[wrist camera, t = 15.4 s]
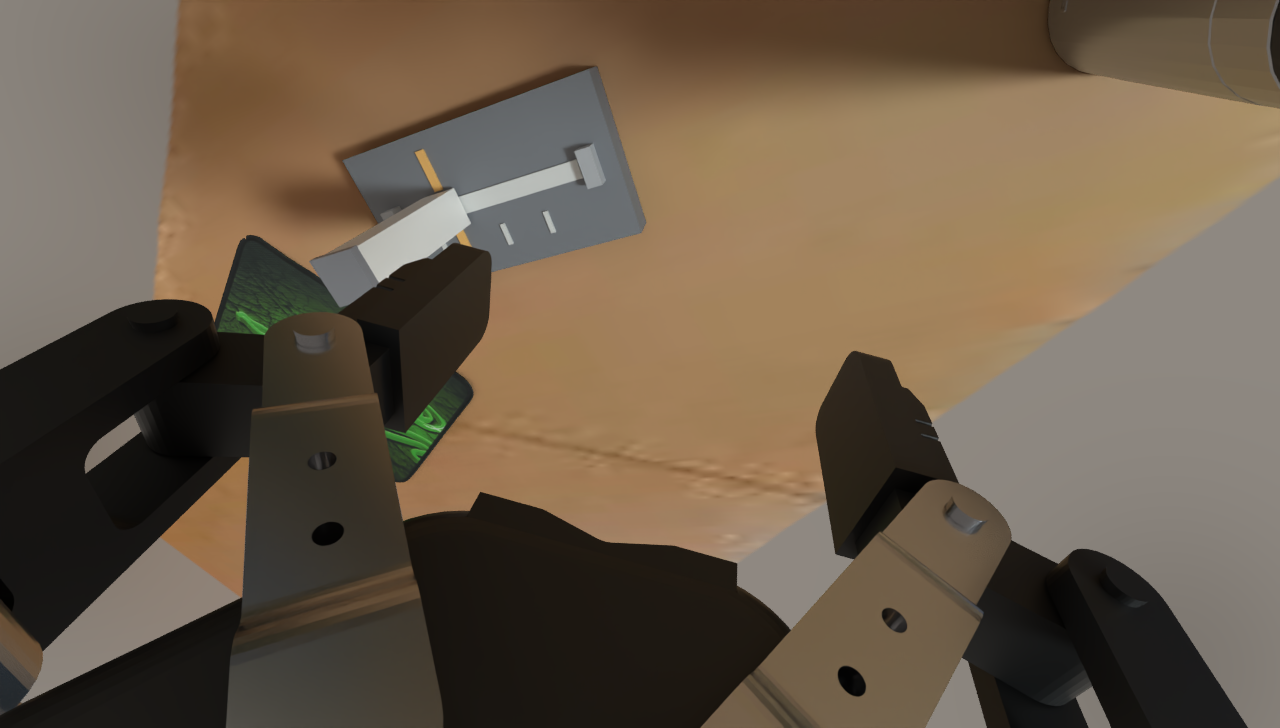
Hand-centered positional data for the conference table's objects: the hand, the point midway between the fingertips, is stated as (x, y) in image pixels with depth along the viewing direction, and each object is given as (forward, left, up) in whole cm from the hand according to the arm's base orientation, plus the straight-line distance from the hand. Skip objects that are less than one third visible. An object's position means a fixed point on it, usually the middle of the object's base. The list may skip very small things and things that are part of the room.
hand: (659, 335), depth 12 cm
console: (+16, +10, -33) cm, 38 cm away
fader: (+19, +12, -30) cm, 38 cm away
